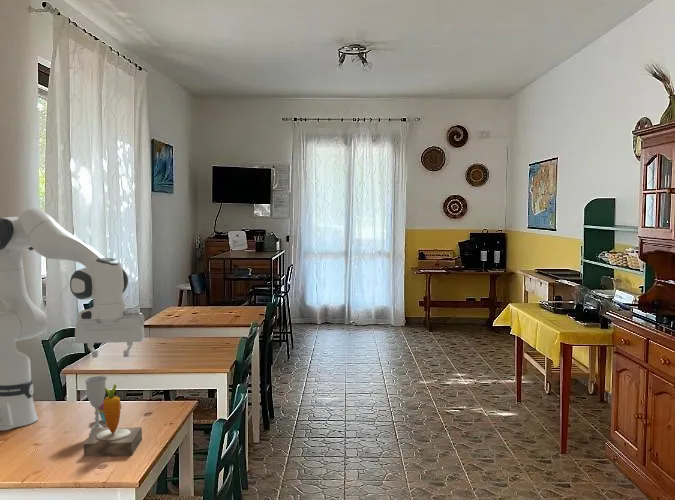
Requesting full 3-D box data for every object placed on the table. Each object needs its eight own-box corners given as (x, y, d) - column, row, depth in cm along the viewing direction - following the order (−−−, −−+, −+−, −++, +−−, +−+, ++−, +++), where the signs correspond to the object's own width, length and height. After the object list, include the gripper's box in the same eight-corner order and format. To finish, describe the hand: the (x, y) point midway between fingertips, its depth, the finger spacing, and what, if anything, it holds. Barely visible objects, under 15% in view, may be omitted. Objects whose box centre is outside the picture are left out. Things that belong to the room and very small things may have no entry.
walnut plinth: (83, 457, 206) (83, 442, 206) (97, 441, 220) (96, 427, 219) (131, 455, 207) (131, 440, 206) (142, 439, 221) (141, 425, 220)
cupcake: (124, 420, 240) (123, 386, 240) (99, 425, 236) (98, 390, 235) (117, 414, 247) (116, 381, 247) (93, 419, 243) (91, 385, 242)
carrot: (105, 437, 210) (103, 388, 209) (103, 432, 214) (101, 384, 213) (122, 434, 212) (120, 386, 211) (120, 429, 216) (118, 382, 216)
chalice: (101, 437, 223) (99, 382, 222) (82, 436, 225) (79, 381, 223) (112, 430, 230) (111, 376, 229) (94, 429, 232) (92, 375, 231)
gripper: (146, 309, 214) (147, 353, 215) (78, 310, 213) (80, 355, 214) (141, 312, 208) (143, 358, 209) (72, 314, 207) (73, 359, 208)
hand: (110, 356), depth 211 cm, fingers open, 8 cm apart
